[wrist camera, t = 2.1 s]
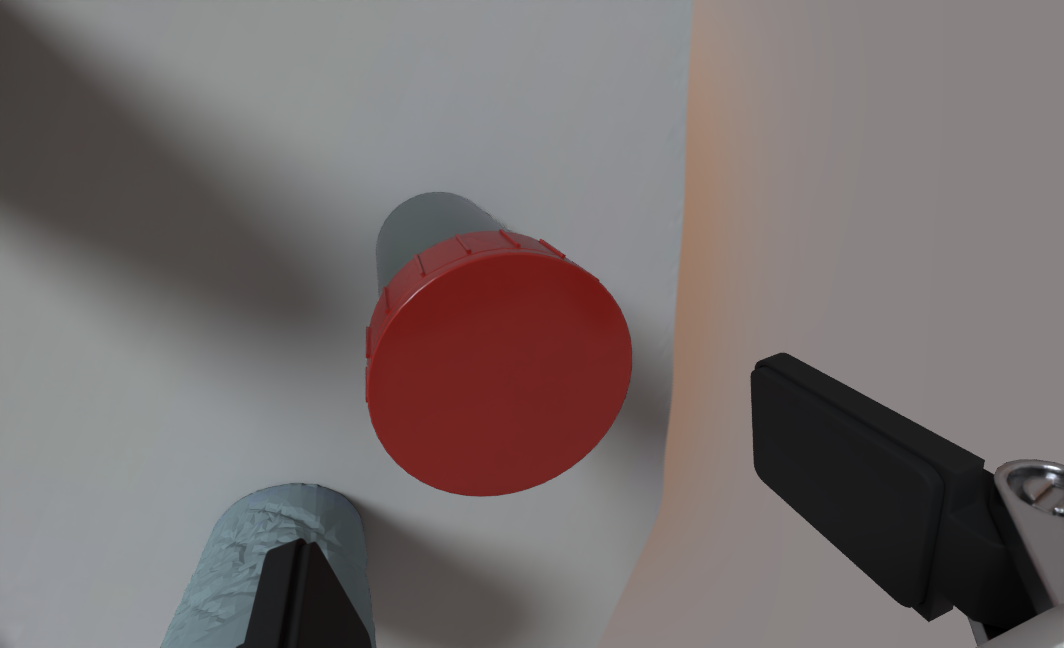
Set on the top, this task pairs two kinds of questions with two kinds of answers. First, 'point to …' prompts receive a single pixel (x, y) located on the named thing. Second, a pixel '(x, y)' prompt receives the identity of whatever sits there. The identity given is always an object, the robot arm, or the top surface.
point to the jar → (425, 229)
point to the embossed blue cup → (238, 554)
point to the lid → (494, 364)
